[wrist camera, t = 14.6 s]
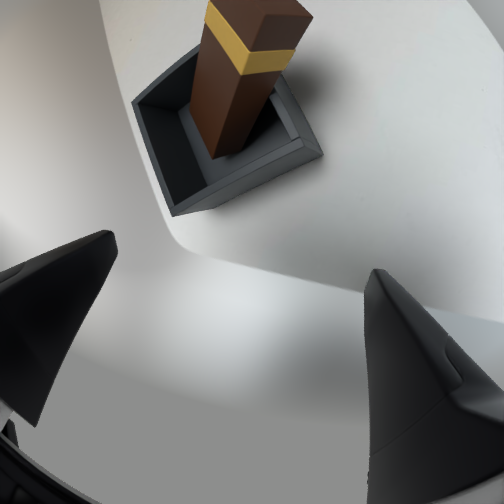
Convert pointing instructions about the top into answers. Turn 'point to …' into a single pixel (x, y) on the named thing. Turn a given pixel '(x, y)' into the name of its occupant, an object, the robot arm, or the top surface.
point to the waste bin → (196, 154)
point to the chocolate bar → (241, 66)
